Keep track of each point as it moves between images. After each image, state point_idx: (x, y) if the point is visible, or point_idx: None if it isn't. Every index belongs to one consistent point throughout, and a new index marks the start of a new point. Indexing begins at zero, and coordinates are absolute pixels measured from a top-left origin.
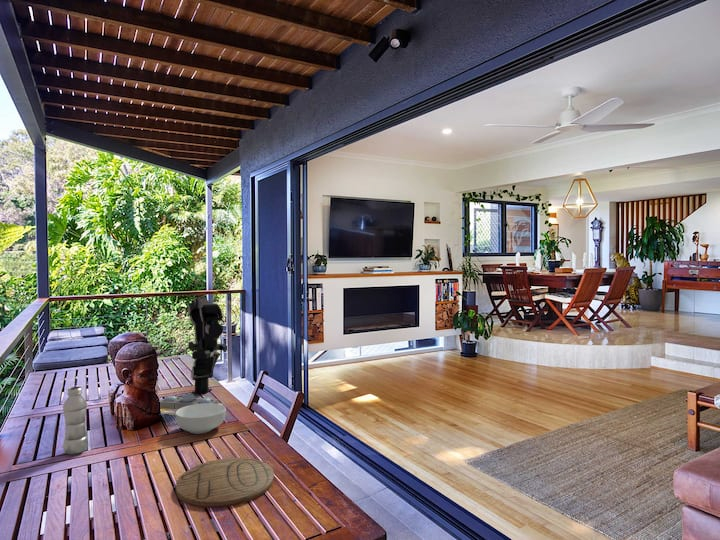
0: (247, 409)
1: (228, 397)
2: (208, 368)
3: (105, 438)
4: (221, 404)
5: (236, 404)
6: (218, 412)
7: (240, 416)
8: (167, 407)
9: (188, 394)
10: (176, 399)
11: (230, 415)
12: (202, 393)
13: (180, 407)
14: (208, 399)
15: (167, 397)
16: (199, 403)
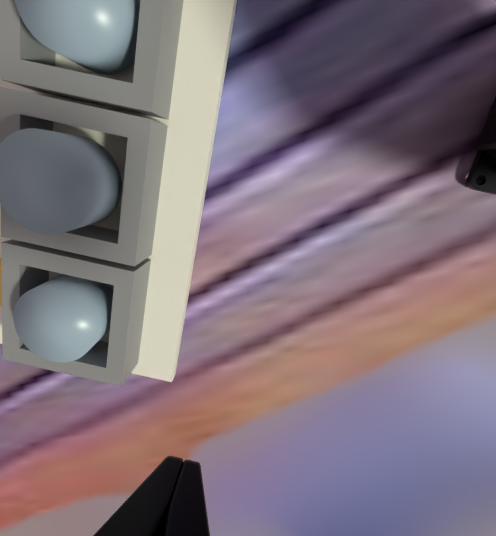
0: (123, 492)
1: (348, 370)
2: (127, 506)
3: None
4: (157, 376)
5: (202, 435)
6: None
7: (22, 477)
8: None
9: (57, 182)
10: (85, 62)
11: (27, 436)
12: (473, 165)
13: None
14: (49, 349)
15: None
16: (17, 291)
